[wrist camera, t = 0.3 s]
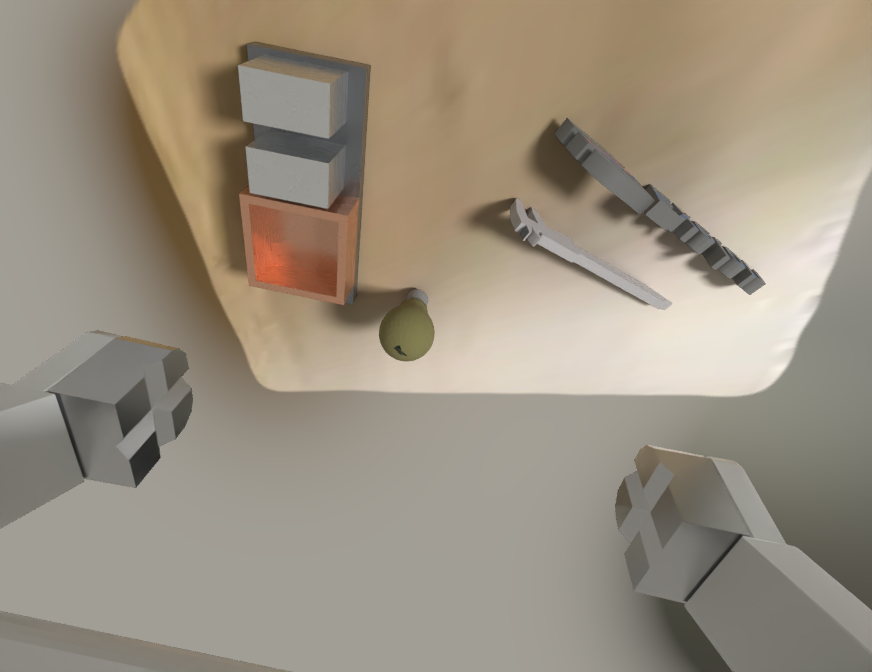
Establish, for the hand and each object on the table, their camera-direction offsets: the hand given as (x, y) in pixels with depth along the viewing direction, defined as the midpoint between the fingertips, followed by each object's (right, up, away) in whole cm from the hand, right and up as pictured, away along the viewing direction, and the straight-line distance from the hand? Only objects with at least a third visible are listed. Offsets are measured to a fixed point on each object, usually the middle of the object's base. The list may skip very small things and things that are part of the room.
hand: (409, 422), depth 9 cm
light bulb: (-2, +6, +46) cm, 46 cm away
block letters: (+21, +14, +36) cm, 44 cm away
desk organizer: (-12, +15, +40) cm, 45 cm away
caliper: (+17, +10, +40) cm, 45 cm away
